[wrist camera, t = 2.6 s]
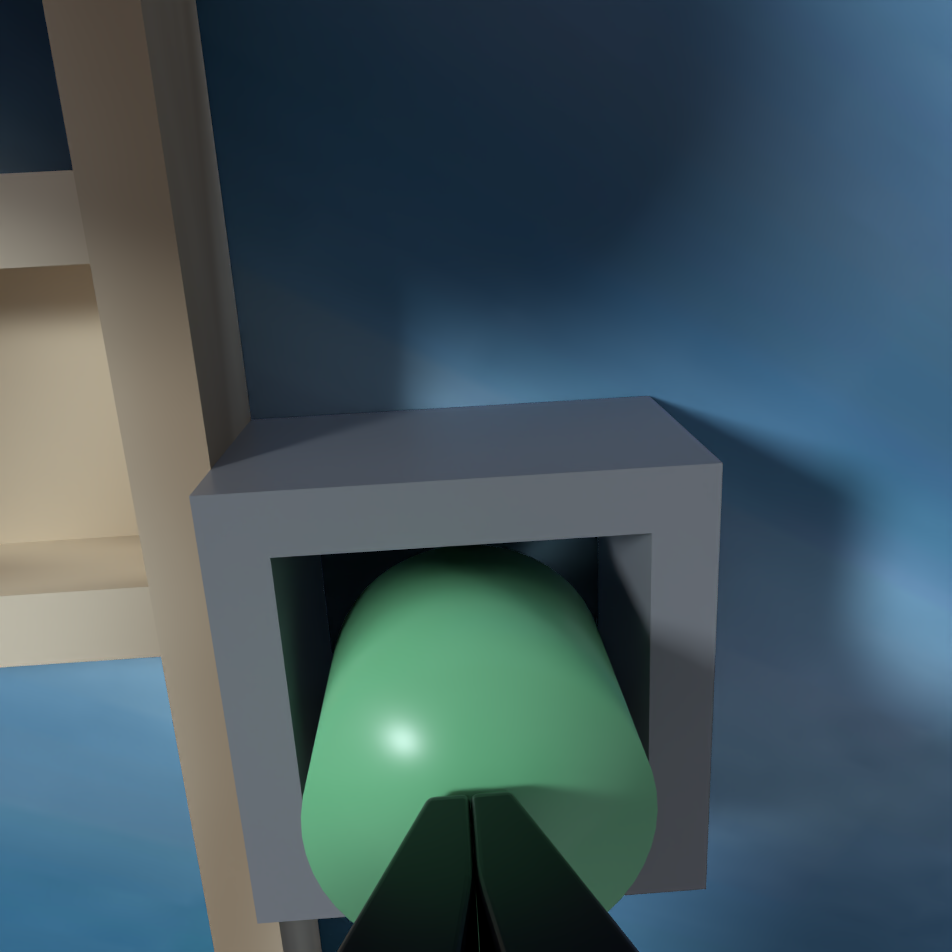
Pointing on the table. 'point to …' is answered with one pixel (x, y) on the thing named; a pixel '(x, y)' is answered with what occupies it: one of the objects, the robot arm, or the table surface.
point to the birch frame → (126, 399)
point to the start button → (474, 721)
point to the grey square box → (454, 524)
